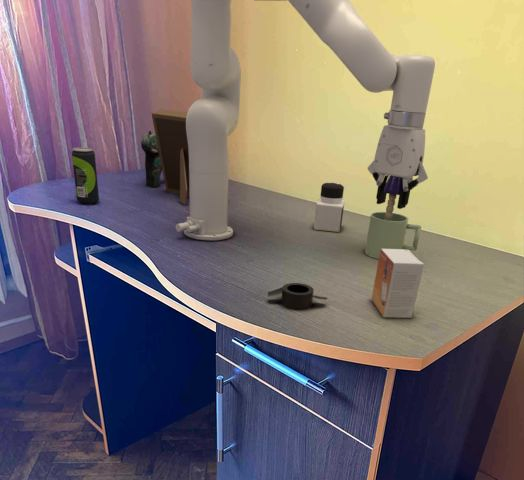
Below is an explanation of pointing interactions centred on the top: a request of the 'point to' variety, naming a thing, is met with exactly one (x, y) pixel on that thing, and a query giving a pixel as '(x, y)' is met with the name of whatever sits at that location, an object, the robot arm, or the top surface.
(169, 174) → the photo frame
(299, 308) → the black ring with tabs
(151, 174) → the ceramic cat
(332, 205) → the medicine bottle
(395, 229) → the mug
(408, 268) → the small box
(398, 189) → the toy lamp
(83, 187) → the beverage can
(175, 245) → the top surface
